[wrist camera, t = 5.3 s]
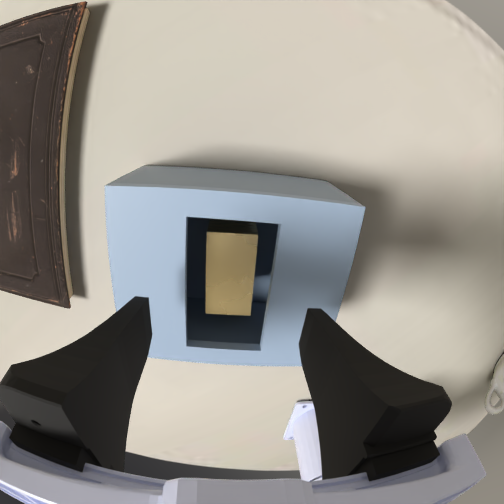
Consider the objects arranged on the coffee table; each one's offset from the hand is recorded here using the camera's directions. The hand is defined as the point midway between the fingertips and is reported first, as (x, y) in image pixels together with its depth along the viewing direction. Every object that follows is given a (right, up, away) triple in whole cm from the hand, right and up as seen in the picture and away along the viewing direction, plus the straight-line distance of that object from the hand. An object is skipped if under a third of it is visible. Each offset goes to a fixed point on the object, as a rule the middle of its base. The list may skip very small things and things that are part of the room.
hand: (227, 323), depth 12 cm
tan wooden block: (0, +3, +8) cm, 9 cm away
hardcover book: (-20, +11, +5) cm, 23 cm away
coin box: (-1, +4, +8) cm, 9 cm away
